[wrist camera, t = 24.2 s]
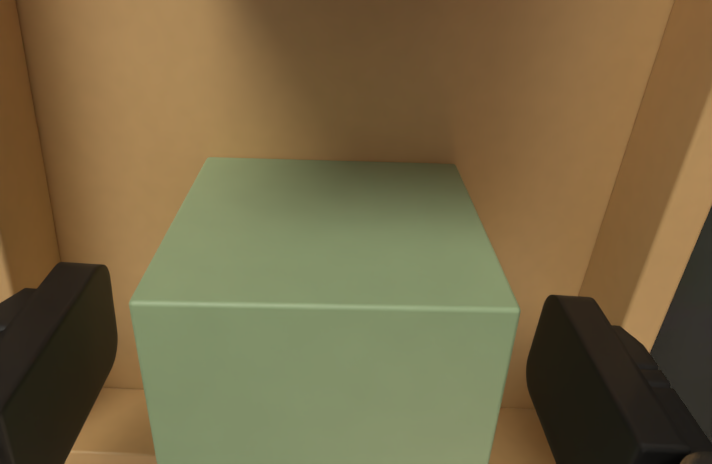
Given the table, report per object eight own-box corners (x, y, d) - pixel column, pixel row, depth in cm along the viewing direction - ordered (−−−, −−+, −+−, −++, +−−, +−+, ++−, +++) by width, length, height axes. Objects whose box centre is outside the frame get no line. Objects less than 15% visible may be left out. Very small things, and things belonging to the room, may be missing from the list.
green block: (206, 155, 12) (126, 302, 7) (456, 162, 12) (522, 309, 8) (223, 352, 14) (170, 551, 10) (431, 355, 14) (471, 552, 10)
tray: (-177, -863, 7) (-455, -1280, 4) (928, -671, 7) (1194, -934, 5) (65, 390, 15) (17, 474, 13) (555, 415, 16) (590, 498, 14)
